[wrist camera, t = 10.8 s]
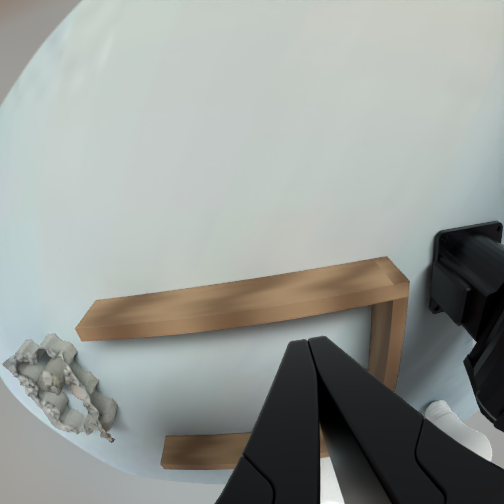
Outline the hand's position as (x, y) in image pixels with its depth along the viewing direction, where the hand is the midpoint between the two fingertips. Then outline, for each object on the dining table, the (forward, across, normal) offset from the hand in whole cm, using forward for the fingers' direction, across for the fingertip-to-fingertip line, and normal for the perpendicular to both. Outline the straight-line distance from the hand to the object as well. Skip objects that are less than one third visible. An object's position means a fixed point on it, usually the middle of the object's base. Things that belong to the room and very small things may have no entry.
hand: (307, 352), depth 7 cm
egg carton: (+12, +20, +12) cm, 27 cm away
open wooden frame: (+12, +3, +12) cm, 18 cm away
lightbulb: (+12, -14, +22) cm, 29 cm away
